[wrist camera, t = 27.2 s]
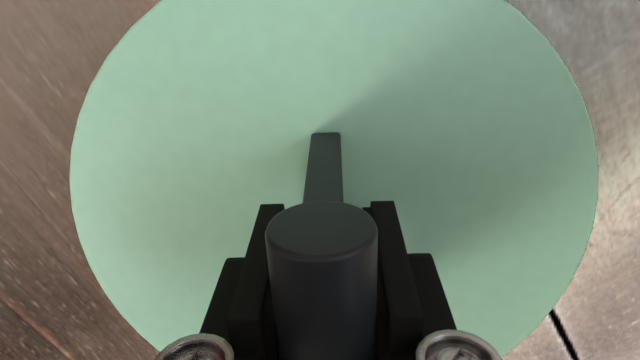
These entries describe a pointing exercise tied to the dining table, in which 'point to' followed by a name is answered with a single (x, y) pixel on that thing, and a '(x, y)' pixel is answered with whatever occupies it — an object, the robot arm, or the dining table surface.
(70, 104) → the dining table surface
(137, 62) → the lid
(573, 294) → the dining table surface
